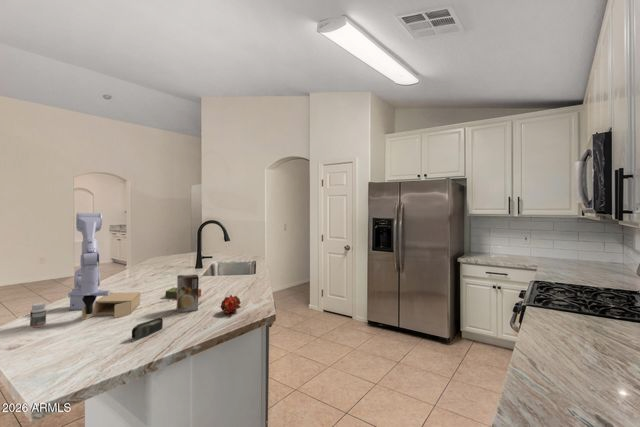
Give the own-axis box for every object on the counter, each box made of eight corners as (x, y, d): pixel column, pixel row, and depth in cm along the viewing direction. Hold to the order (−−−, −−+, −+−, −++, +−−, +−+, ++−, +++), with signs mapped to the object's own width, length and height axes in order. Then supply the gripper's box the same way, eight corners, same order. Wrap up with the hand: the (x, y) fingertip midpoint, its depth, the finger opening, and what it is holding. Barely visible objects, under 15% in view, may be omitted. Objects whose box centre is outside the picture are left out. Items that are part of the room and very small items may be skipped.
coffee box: (196, 306, 159) (197, 274, 159) (198, 310, 153) (199, 276, 153) (176, 308, 155) (177, 275, 154) (177, 312, 149) (178, 277, 149)
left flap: (93, 314, 140) (94, 302, 140) (94, 314, 140) (95, 302, 140) (81, 320, 134) (82, 307, 133) (83, 320, 133) (83, 307, 133)
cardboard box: (95, 315, 141) (95, 301, 141) (107, 305, 154) (108, 292, 154) (130, 313, 144) (131, 300, 144) (139, 304, 158) (140, 292, 158)
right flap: (114, 317, 138) (115, 305, 138) (114, 317, 138) (114, 305, 138) (130, 313, 144) (130, 301, 143) (129, 313, 144) (130, 301, 144)
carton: (194, 300, 169) (194, 292, 169) (164, 298, 170) (165, 290, 170) (201, 296, 178) (201, 288, 178) (172, 294, 179) (173, 286, 179)
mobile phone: (158, 316, 131) (127, 327, 116) (164, 317, 130) (134, 329, 115) (157, 328, 130) (126, 341, 116) (164, 329, 130) (133, 343, 115)
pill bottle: (32, 323, 128) (33, 302, 128) (47, 322, 130) (48, 301, 130) (27, 327, 124) (28, 306, 124) (43, 326, 126) (43, 305, 126)
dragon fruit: (239, 311, 159) (224, 323, 147) (226, 300, 160) (211, 310, 149) (247, 299, 156) (233, 310, 145) (234, 288, 157) (220, 298, 146)
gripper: (64, 283, 130) (63, 317, 130) (105, 282, 134) (104, 315, 134) (73, 280, 137) (72, 312, 137) (111, 279, 140) (111, 310, 140)
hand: (88, 313), depth 136 cm, fingers closed, pressing on left flap
